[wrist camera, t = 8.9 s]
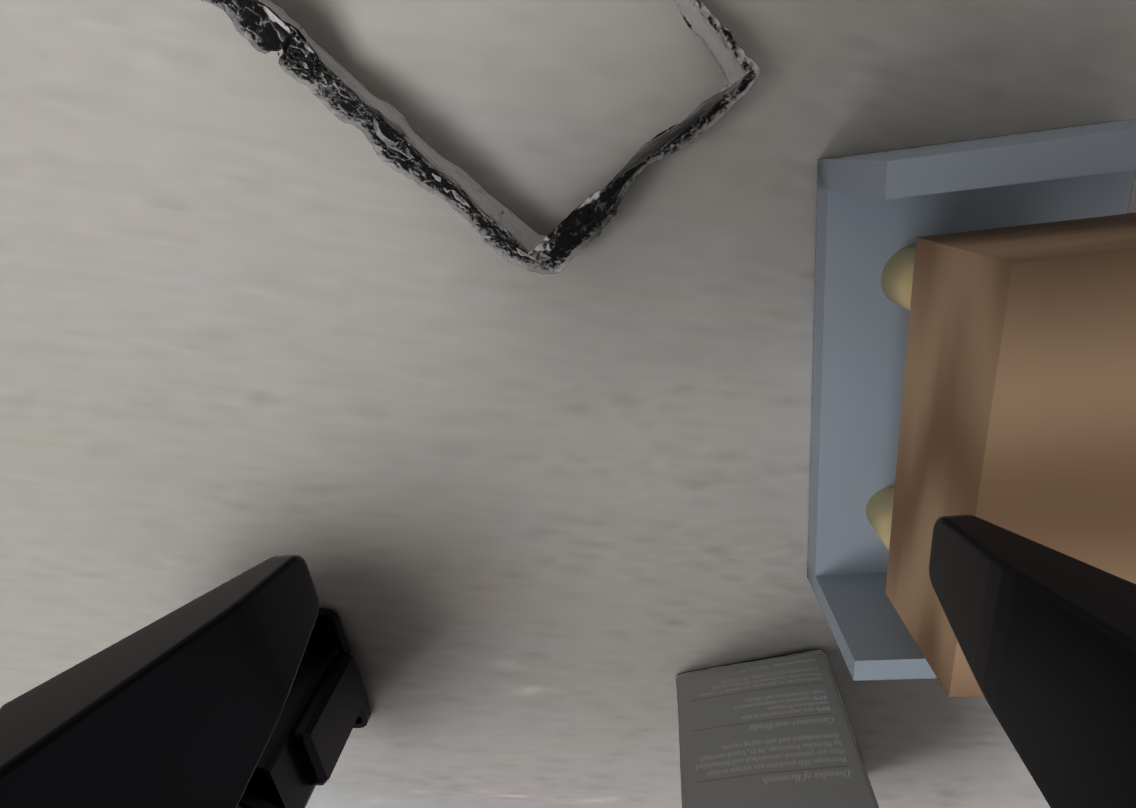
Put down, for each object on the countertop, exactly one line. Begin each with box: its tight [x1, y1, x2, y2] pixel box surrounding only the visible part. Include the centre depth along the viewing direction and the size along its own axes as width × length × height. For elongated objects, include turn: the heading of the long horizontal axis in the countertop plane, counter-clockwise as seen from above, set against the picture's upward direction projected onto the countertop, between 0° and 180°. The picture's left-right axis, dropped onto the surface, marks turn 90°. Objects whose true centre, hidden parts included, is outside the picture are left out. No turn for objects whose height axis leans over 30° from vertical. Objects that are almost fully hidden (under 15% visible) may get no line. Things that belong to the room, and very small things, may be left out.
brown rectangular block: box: [885, 213, 1136, 697], centre depth 15 cm, size 11×5×4 cm, turn 7°
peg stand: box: [807, 120, 1136, 681], centre depth 18 cm, size 15×8×5 cm, turn 7°
